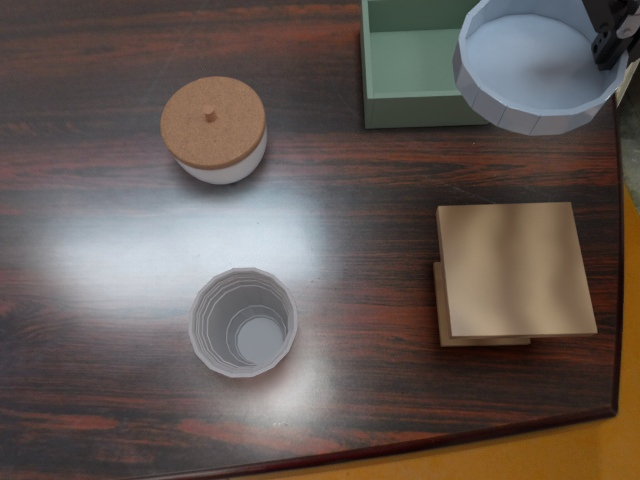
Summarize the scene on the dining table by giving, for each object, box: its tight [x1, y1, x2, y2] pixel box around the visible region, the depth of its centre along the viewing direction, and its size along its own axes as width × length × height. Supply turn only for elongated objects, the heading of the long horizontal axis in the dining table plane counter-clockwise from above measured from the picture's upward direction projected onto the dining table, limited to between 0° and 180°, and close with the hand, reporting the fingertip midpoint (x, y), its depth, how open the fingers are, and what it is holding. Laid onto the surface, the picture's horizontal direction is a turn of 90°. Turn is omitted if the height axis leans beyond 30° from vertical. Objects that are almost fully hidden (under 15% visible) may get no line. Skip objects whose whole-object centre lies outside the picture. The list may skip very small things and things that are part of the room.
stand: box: [432, 201, 598, 348], centre depth 57 cm, size 13×13×14 cm
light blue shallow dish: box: [452, 0, 629, 137], centre depth 40 cm, size 12×12×3 cm
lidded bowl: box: [159, 75, 268, 185], centre depth 67 cm, size 13×13×11 cm
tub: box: [359, 0, 490, 130], centre depth 72 cm, size 17×17×7 cm
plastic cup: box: [187, 266, 298, 378], centre depth 57 cm, size 11×11×12 cm
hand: (608, 60), depth 40 cm, fingers closed on light blue shallow dish, 1 cm apart
